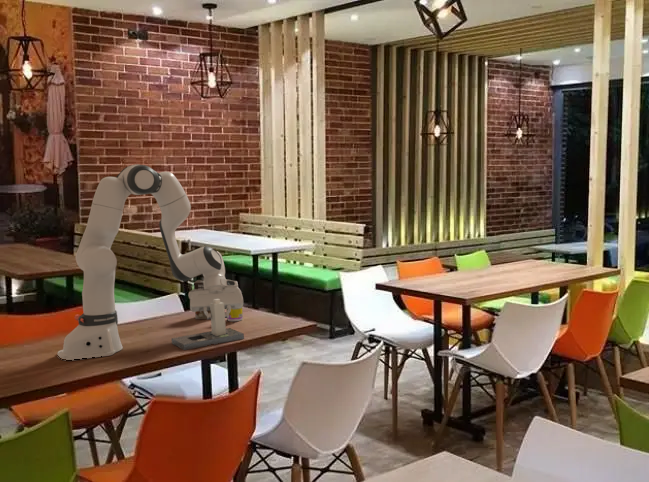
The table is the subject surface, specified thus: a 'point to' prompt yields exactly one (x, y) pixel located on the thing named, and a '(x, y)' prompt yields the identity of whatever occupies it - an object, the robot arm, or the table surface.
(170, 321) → the table surface
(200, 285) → the coffee box
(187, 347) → the panel
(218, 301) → the plug
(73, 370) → the table surface
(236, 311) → the supplement bottle
